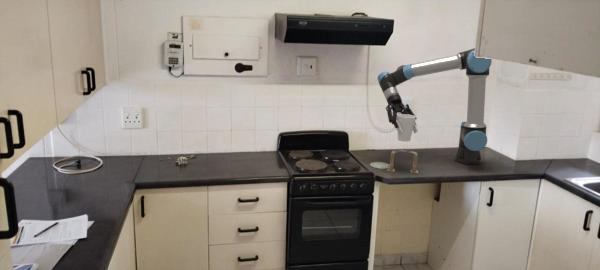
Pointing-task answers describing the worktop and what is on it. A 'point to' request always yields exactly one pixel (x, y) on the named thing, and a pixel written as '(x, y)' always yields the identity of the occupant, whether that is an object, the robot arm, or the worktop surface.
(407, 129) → the foam cup
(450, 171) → the worktop surface
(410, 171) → the pull handle
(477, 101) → the robot arm
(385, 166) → the coaster
